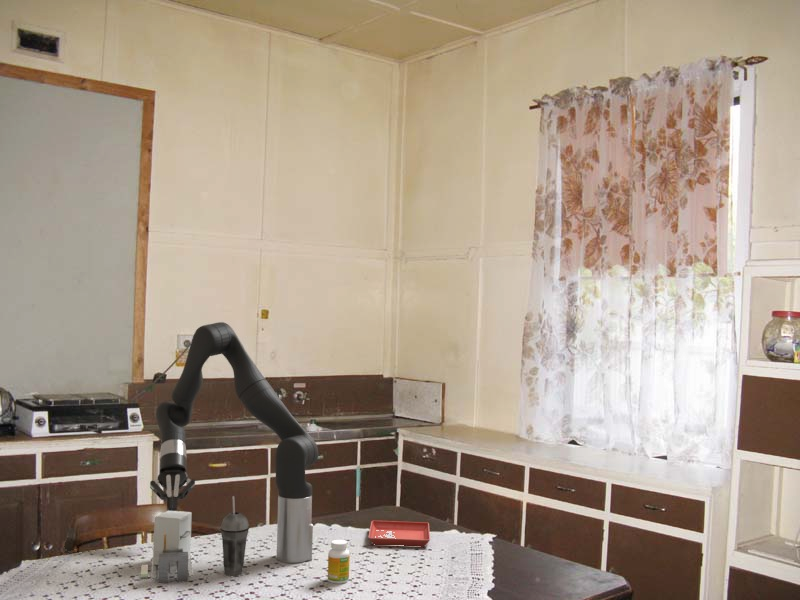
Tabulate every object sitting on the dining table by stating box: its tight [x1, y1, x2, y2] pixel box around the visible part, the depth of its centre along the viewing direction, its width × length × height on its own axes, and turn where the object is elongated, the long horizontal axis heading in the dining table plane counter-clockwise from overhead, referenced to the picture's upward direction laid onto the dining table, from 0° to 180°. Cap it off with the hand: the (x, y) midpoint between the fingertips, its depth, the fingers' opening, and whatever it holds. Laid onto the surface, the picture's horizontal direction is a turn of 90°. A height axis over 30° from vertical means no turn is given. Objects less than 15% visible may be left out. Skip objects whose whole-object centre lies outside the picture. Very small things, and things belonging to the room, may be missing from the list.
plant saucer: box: [368, 520, 431, 548], centre depth 232 cm, size 18×18×3 cm
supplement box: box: [152, 510, 193, 566], centre depth 205 cm, size 7×7×13 cm
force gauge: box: [140, 552, 194, 584], centre depth 199 cm, size 13×20×6 cm, turn 17°
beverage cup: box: [220, 495, 250, 577], centre depth 198 cm, size 7×7×20 cm
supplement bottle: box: [327, 539, 351, 585], centre depth 195 cm, size 5×5×10 cm
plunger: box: [163, 534, 183, 574], centre depth 195 cm, size 5×10×8 cm, turn 18°
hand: (172, 511), depth 215 cm, fingers closed
